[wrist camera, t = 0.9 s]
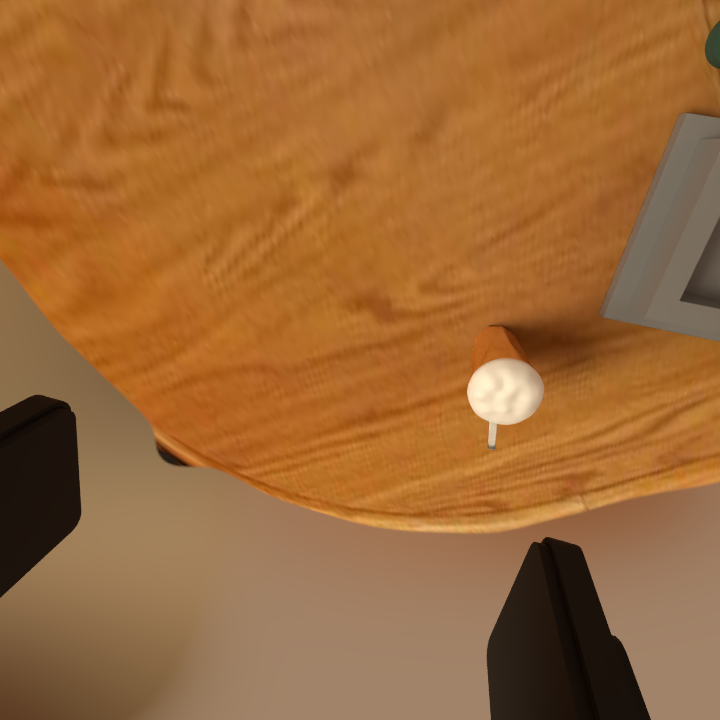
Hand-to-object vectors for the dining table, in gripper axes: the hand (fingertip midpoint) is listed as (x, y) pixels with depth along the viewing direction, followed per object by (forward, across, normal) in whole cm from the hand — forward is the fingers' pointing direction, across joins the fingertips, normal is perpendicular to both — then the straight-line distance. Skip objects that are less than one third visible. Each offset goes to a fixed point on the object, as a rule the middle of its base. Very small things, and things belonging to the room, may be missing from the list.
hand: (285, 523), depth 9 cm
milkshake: (+29, -8, +5) cm, 30 cm away
